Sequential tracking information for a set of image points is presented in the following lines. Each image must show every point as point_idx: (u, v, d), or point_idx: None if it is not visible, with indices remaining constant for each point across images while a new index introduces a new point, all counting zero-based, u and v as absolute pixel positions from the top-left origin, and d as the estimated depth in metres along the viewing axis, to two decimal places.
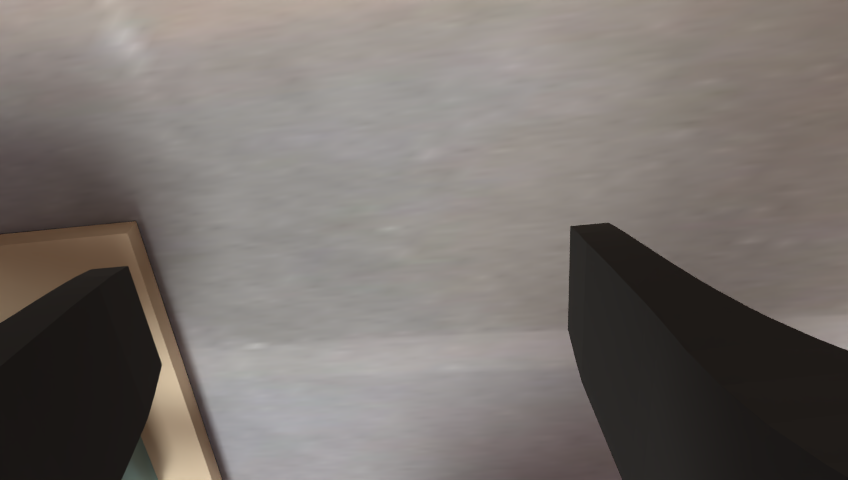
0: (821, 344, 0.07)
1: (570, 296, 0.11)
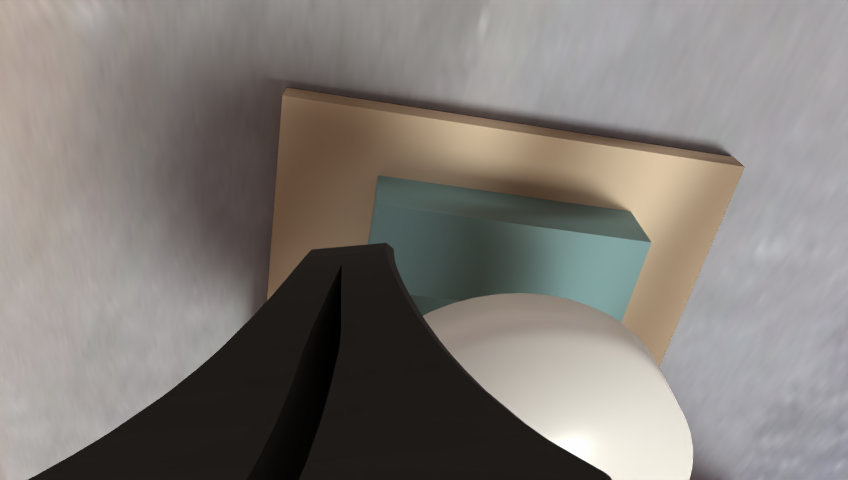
0: (460, 376, 0.07)
1: None
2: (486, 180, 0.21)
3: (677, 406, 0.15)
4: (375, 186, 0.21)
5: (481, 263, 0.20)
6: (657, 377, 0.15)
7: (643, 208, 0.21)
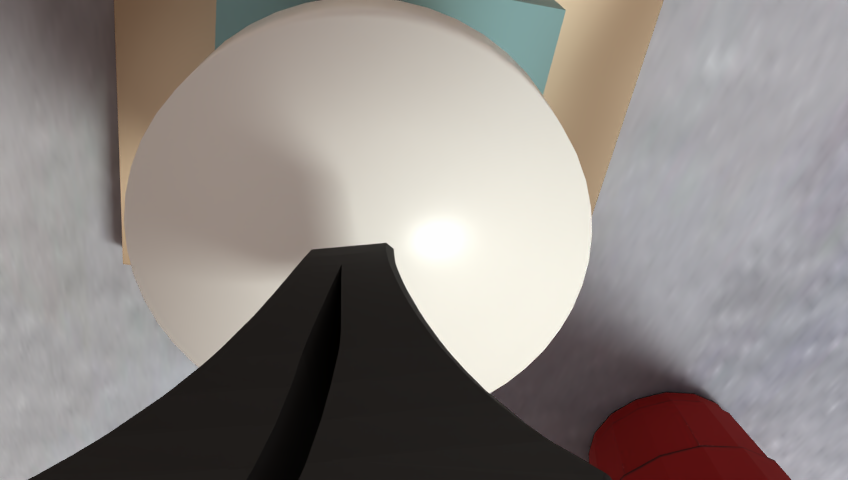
0: (459, 376, 0.07)
1: None
2: None
3: (564, 134, 0.12)
4: None
5: None
6: (537, 93, 0.11)
7: None
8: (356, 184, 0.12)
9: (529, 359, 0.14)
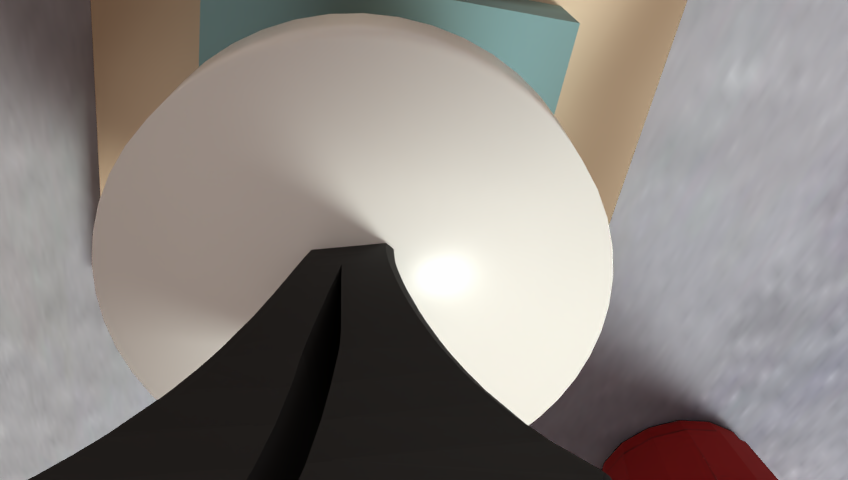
0: (459, 376, 0.07)
1: None
2: None
3: (584, 168, 0.10)
4: None
5: None
6: (554, 122, 0.10)
7: (576, 2, 0.16)
8: (351, 222, 0.11)
9: (542, 409, 0.13)
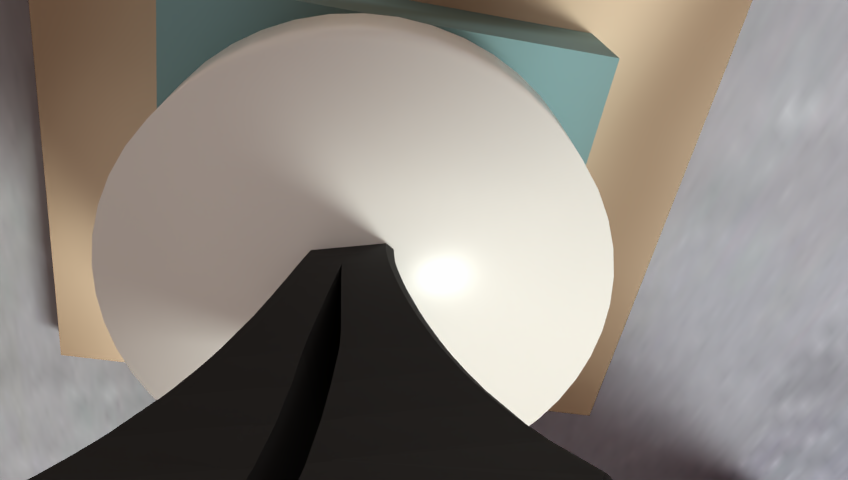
0: (459, 375, 0.07)
1: None
2: None
3: (585, 168, 0.10)
4: None
5: None
6: (555, 123, 0.10)
7: (611, 29, 0.14)
8: (351, 223, 0.11)
9: (542, 409, 0.13)
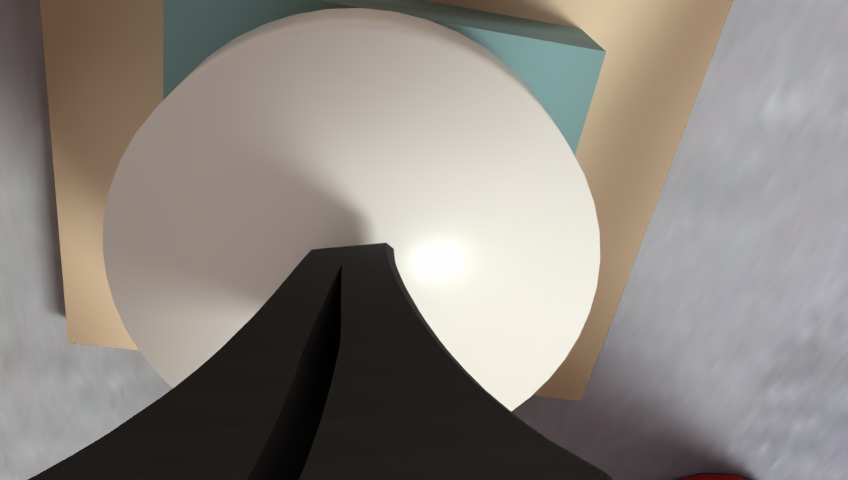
0: (459, 376, 0.07)
1: None
2: None
3: (572, 155, 0.11)
4: None
5: None
6: (543, 111, 0.11)
7: (599, 24, 0.14)
8: (350, 207, 0.11)
9: (533, 388, 0.13)
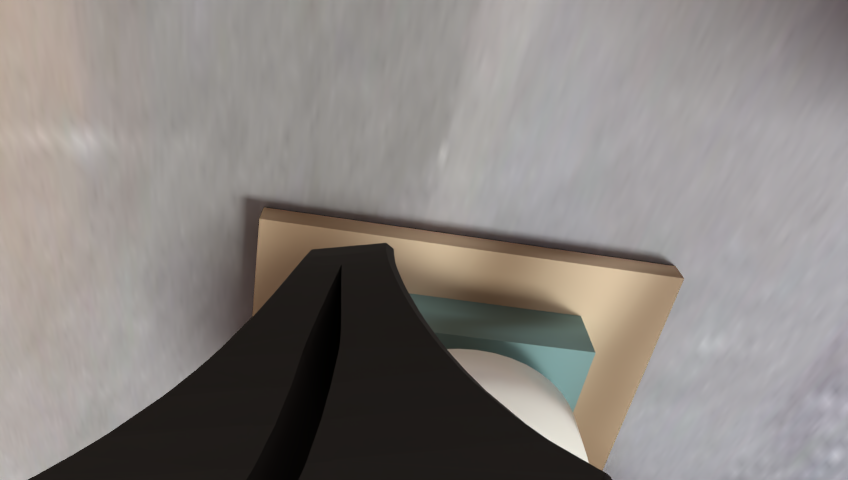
0: (459, 375, 0.07)
1: None
2: (447, 289, 0.23)
3: (575, 438, 0.20)
4: None
5: None
6: (560, 416, 0.20)
7: (592, 313, 0.23)
8: None
9: None
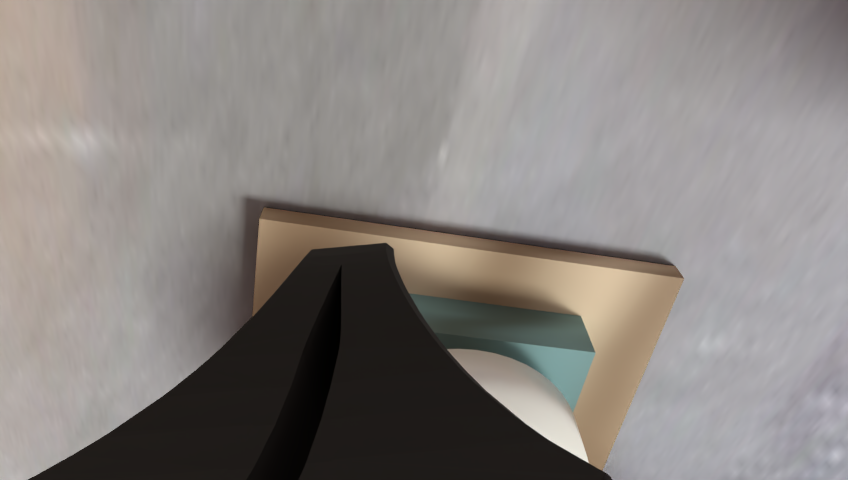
0: (459, 375, 0.07)
1: None
2: (447, 289, 0.23)
3: (575, 438, 0.20)
4: None
5: None
6: (560, 416, 0.20)
7: (592, 313, 0.23)
8: None
9: None
